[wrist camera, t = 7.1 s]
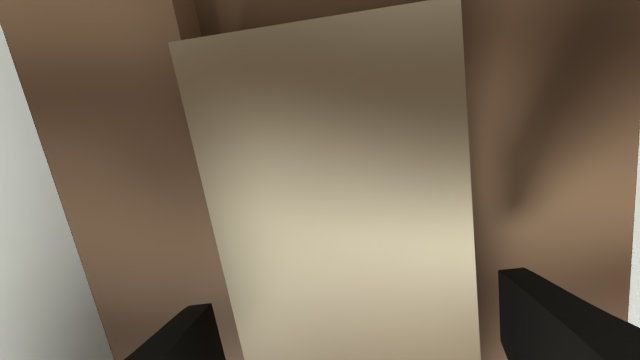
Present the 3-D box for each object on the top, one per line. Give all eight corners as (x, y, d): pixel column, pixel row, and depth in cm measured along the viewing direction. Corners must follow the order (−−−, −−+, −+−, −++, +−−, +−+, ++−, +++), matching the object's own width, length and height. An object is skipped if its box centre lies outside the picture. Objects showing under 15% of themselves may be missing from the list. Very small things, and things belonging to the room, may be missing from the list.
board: (572, 484, 20) (612, 559, 17) (211, 513, 21) (192, 588, 18) (586, -86, 13) (654, -117, 11) (58, 2, 15) (-9, -5, 12)
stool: (236, 36, 14) (168, 42, 8) (406, 8, 13) (460, -6, 8) (310, 411, 18) (300, 589, 12) (441, 398, 18) (492, 576, 12)
